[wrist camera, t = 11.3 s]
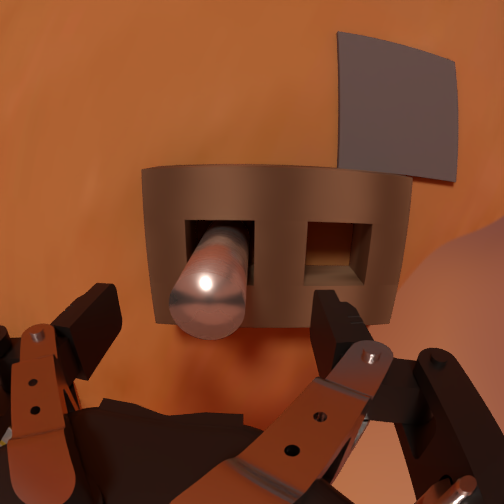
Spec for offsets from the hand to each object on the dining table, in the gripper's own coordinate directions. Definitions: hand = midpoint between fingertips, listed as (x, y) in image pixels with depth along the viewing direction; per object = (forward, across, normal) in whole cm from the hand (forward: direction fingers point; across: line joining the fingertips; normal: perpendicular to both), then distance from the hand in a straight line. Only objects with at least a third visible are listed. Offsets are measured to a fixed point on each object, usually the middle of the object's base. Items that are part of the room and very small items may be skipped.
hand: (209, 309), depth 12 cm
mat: (+10, -12, -10) cm, 19 cm away
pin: (+10, 0, 0) cm, 10 cm away
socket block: (+10, -3, 0) cm, 10 cm away
